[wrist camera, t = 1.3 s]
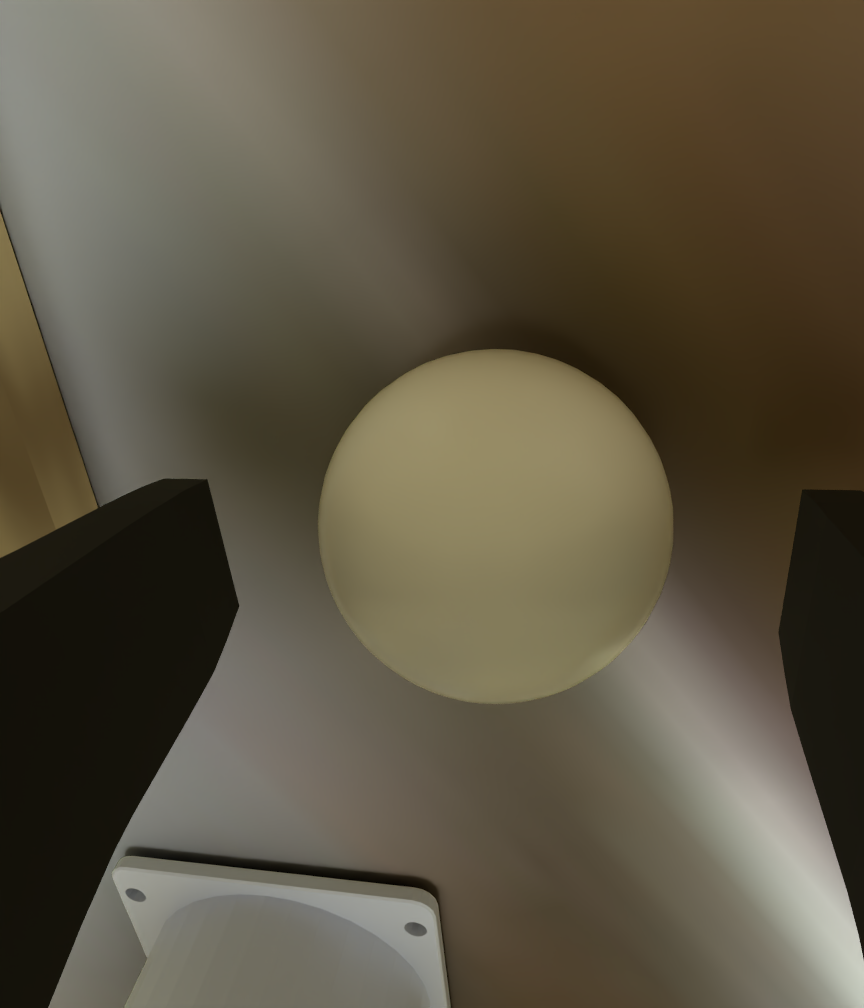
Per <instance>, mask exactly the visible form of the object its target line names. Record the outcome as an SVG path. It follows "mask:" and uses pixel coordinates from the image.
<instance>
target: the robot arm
mask: <svg viewBox="0 0 864 1008" xmlns="http://www.w3.org/2000/svg"><path fill="white" fill-rule="evenodd" d="M238 608H239V604H238V600H237V596H236V592H235V588H234V584H233V580H232V576H231V572H230V568H229V564H228V560H227V556H226V552H225V548H224V544H223V540H222V536H221V532H220V528H219V524H218V520H217V516H216V512H215V508H214V504H213V500H212V496H211V492H210V488H209V484H208V480H207V479H162V480H159V481H157V482H154V483H151V484H148V485H146V486H144V487H141V488H139V489H137V490H135V491H132V492H130V493H128V494H126V495H124V496H122V497H120V498H117V499H115V500H113V501H111V502H109V503H107V504H105V505H103V506H101V507H99V508H97V509H95V510H93V511H92V512H90V513H88V514H86V515H84V516H82V517H80V518H78V519H76V520H74V521H72V522H70V523H68V524H66V525H64V526H62V527H60V528H58V529H56V530H55V531H53V532H51V533H49V534H47V535H45V536H43V537H41V538H39V539H37V540H35V541H33V542H31V543H29V544H27V545H25V546H23V547H22V548H20V549H18V550H16V551H14V552H11V553H9V554H7V555H5V556H3V557H1V558H0V1008H48V1006H49V1004H50V1001H51V999H52V996H53V994H54V992H55V989H56V987H57V984H58V982H59V979H60V977H61V974H62V972H63V969H64V967H65V964H66V962H67V959H68V957H69V955H70V952H71V950H72V947H73V945H74V942H75V940H76V937H77V935H78V932H79V930H80V927H81V925H82V923H83V920H84V918H85V916H86V914H87V911H88V909H89V907H90V905H91V902H92V900H93V898H94V895H95V893H96V891H97V889H98V886H99V884H100V882H101V880H102V877H103V875H104V873H105V871H106V868H107V866H108V864H109V861H110V859H111V857H112V855H113V852H114V850H115V848H116V846H117V844H118V842H119V841H120V839H121V837H122V835H123V833H124V831H125V829H126V827H127V825H128V823H129V821H130V819H131V817H132V815H133V814H134V812H135V810H136V808H137V807H138V805H139V803H140V801H141V800H142V798H143V796H144V794H145V793H146V791H147V789H148V788H149V786H150V784H151V782H152V781H153V779H154V777H155V775H156V774H157V772H158V770H159V768H160V767H161V765H162V763H163V761H164V760H165V758H166V756H167V754H168V753H169V751H170V749H171V747H172V746H173V744H174V742H175V740H176V739H177V737H178V735H179V733H180V732H181V730H182V728H183V726H184V725H185V723H186V721H187V719H188V718H189V716H190V714H191V712H192V710H193V709H194V707H195V705H196V703H197V701H198V700H199V698H200V696H201V694H202V693H203V691H204V689H205V687H206V685H207V683H208V682H209V680H210V678H211V676H212V674H213V672H214V670H215V668H216V665H217V663H218V661H219V658H220V656H221V653H222V651H223V648H224V646H225V643H226V641H227V638H228V635H229V633H230V630H231V627H232V624H233V622H234V619H235V616H236V613H237V611H238ZM779 638H780V645H781V652H782V658H783V665H784V672H785V678H786V683H787V689H788V695H789V701H790V706H791V711H792V714H793V717H794V721H795V724H796V728H797V731H798V734H799V737H800V741H801V744H802V747H803V751H804V754H805V757H806V760H807V764H808V767H809V770H810V773H811V777H812V780H813V783H814V786H815V789H816V793H817V796H818V799H819V802H820V805H821V809H822V812H823V815H824V818H825V821H826V825H827V828H828V831H829V834H830V837H831V841H832V844H833V847H834V850H835V853H836V857H837V860H838V863H839V866H840V869H841V873H842V876H843V879H844V882H845V885H846V889H847V892H848V896H849V900H850V903H851V907H852V911H853V915H854V918H855V922H856V926H857V930H858V934H859V938H860V943H861V948H862V953H863V958H864V492H863V491H856V490H802V495H801V501H800V507H799V513H798V519H797V525H796V531H795V537H794V543H793V549H792V555H791V561H790V567H789V573H788V579H787V585H786V591H785V597H784V603H783V609H782V615H781V621H780V627H779ZM112 878H113V880H114V883H115V885H116V887H117V890H118V892H119V894H120V897H121V899H122V901H123V904H124V906H125V908H126V911H127V913H128V915H129V917H130V920H131V922H132V924H133V927H134V929H135V931H136V934H137V936H138V938H139V941H140V943H141V945H142V947H143V950H144V952H145V954H146V957H147V960H146V963H145V965H144V967H143V969H142V971H141V973H140V975H139V977H138V979H137V981H136V983H135V985H134V988H133V990H132V992H131V994H130V996H129V998H128V1000H127V1002H126V1004H125V1006H124V1008H451V1004H450V996H449V988H448V980H447V972H446V964H445V956H444V948H443V940H442V932H441V924H440V916H439V908H438V903H437V901H436V899H435V898H434V897H433V896H432V895H431V894H430V893H429V892H427V891H425V890H423V889H420V888H415V887H406V886H398V885H389V884H380V883H371V882H362V881H353V880H344V879H335V878H326V877H317V876H308V875H300V874H291V873H282V872H273V871H264V870H255V869H246V868H237V867H228V866H219V865H210V864H202V863H193V862H184V861H175V860H166V859H157V858H148V857H139V856H125V857H123V858H121V859H120V860H119V862H118V863H117V865H116V867H115V869H114V870H113V872H112Z"/></svg>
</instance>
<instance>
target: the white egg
mask: <svg viewBox="0 0 864 1008" xmlns="http://www.w3.org/2000/svg"><path fill="white" fill-rule="evenodd" d="M318 537H319V547H320V557H321V561H322V565H323V569H324V573H325V577H326V580H327V583H328V586H329V589H330V591H331V594H332V596H333V599H334V601H335V603H336V605H337V607H338V609H339V610H340V612H341V614H342V616H343V617H344V619H345V621H346V622H347V624H348V625H349V627H350V628H351V630H352V631H353V632H354V634H355V635H356V636H357V638H358V639H359V640H360V642H361V643H362V644H363V645H364V646H365V647H366V648H367V649H368V650H369V651H370V652H371V653H372V654H373V655H374V656H375V657H376V658H378V659H379V660H380V661H381V662H382V663H383V664H385V665H386V666H387V667H388V668H390V669H391V670H393V671H394V672H395V673H397V674H398V675H400V676H401V677H403V678H404V679H406V680H408V681H410V682H412V683H413V684H415V685H417V686H419V687H421V688H424V689H426V690H428V691H431V692H433V693H436V694H439V695H442V696H445V697H448V698H452V699H456V700H461V701H466V702H473V703H482V704H508V703H519V702H524V701H529V700H535V699H540V698H543V697H547V696H550V695H553V694H557V693H560V692H562V691H564V690H566V689H569V688H571V687H573V686H575V685H577V684H579V683H581V682H582V681H584V680H586V679H587V678H589V677H591V676H592V675H594V674H596V673H597V672H599V671H600V670H601V669H603V668H604V667H605V666H607V665H608V664H609V663H611V662H612V661H613V660H614V659H615V658H616V657H617V656H618V655H619V654H620V653H621V652H622V651H623V650H624V649H625V648H626V647H627V646H628V645H629V644H630V643H631V641H632V640H633V639H634V638H635V637H636V636H637V634H638V633H639V631H640V630H641V629H642V627H643V626H644V625H645V623H646V621H647V620H648V618H649V616H650V614H651V612H652V610H653V608H654V606H655V604H656V602H657V601H658V599H659V597H660V595H661V592H662V589H663V586H664V583H665V580H666V577H667V573H668V569H669V565H670V561H671V555H672V548H673V505H672V499H671V493H670V488H669V484H668V480H667V477H666V474H665V471H664V468H663V465H662V462H661V459H660V457H659V455H658V453H657V451H656V449H655V447H654V445H653V443H652V441H651V439H650V437H649V436H648V434H647V433H646V431H645V430H644V428H643V427H642V425H641V424H640V422H639V421H638V420H637V418H636V417H635V415H634V414H633V413H632V412H631V411H630V409H629V408H628V407H627V406H626V405H625V404H624V403H623V402H622V401H621V400H620V399H619V398H618V397H617V396H616V395H615V394H613V393H612V392H611V391H610V390H609V389H607V388H606V387H605V386H604V385H602V384H601V383H600V382H598V381H596V380H595V379H593V378H592V377H590V376H588V375H587V374H585V373H583V372H582V371H580V370H579V369H577V368H575V367H572V366H570V365H568V364H566V363H563V362H561V361H559V360H556V359H553V358H550V357H546V356H543V355H540V354H536V353H531V352H525V351H519V350H508V349H485V350H473V351H467V352H462V353H457V354H452V355H448V356H444V357H441V358H438V359H436V360H433V361H430V362H427V363H424V364H423V365H421V366H419V367H417V368H415V369H413V370H411V371H409V372H407V373H405V374H404V375H402V376H401V377H399V378H398V379H397V380H395V381H394V382H392V383H391V384H389V385H388V386H387V387H385V388H384V389H382V390H381V391H380V392H379V393H378V394H377V395H376V396H375V397H374V398H372V399H371V400H370V401H369V402H368V403H367V404H366V405H365V407H364V408H363V409H362V410H361V412H360V413H359V414H358V415H357V417H356V418H355V419H354V420H353V422H352V423H351V424H350V426H349V427H348V428H347V429H346V431H345V433H344V435H343V436H342V438H341V440H340V442H339V444H338V445H337V447H336V450H335V452H334V454H333V456H332V459H331V461H330V464H329V467H328V469H327V472H326V475H325V478H324V483H323V488H322V493H321V498H320V504H319V513H318Z"/></svg>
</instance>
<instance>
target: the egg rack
mask: <svg viewBox="0 0 864 1008" xmlns="http://www.w3.org/2000/svg"><path fill="white" fill-rule="evenodd" d="M97 508H98V506H97V503H96V500H95V497H94V494H93V491H92V488H91V485H90V482H89V479H88V476H87V473H86V470H85V467H84V464H83V461H82V458H81V455H80V452H79V449H78V446H77V443H76V440H75V437H74V434H73V430H72V427H71V424H70V421H69V418H68V415H67V412H66V409H65V406H64V403H63V400H62V397H61V394H60V391H59V388H58V385H57V382H56V379H55V376H54V373H53V370H52V367H51V364H50V361H49V358H48V355H47V352H46V349H45V346H44V343H43V340H42V337H41V333H40V330H39V327H38V324H37V321H36V318H35V315H34V312H33V309H32V306H31V303H30V300H29V297H28V294H27V291H26V288H25V285H24V282H23V279H22V276H21V273H20V270H19V267H18V264H17V261H16V258H15V255H14V252H13V249H12V246H11V243H10V240H9V237H8V233H7V230H6V227H5V224H4V221H3V218H2V215H1V212H0V558H1V557H3V556H5V555H7V554H9V553H11V552H14V551H16V550H18V549H20V548H22V547H23V546H25V545H27V544H29V543H31V542H33V541H35V540H37V539H39V538H41V537H43V536H45V535H47V534H49V533H51V532H53V531H55V530H56V529H58V528H60V527H62V526H64V525H66V524H68V523H70V522H72V521H74V520H76V519H78V518H80V517H82V516H84V515H86V514H88V513H90V512H92V511H93V510H95V509H97Z"/></svg>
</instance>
